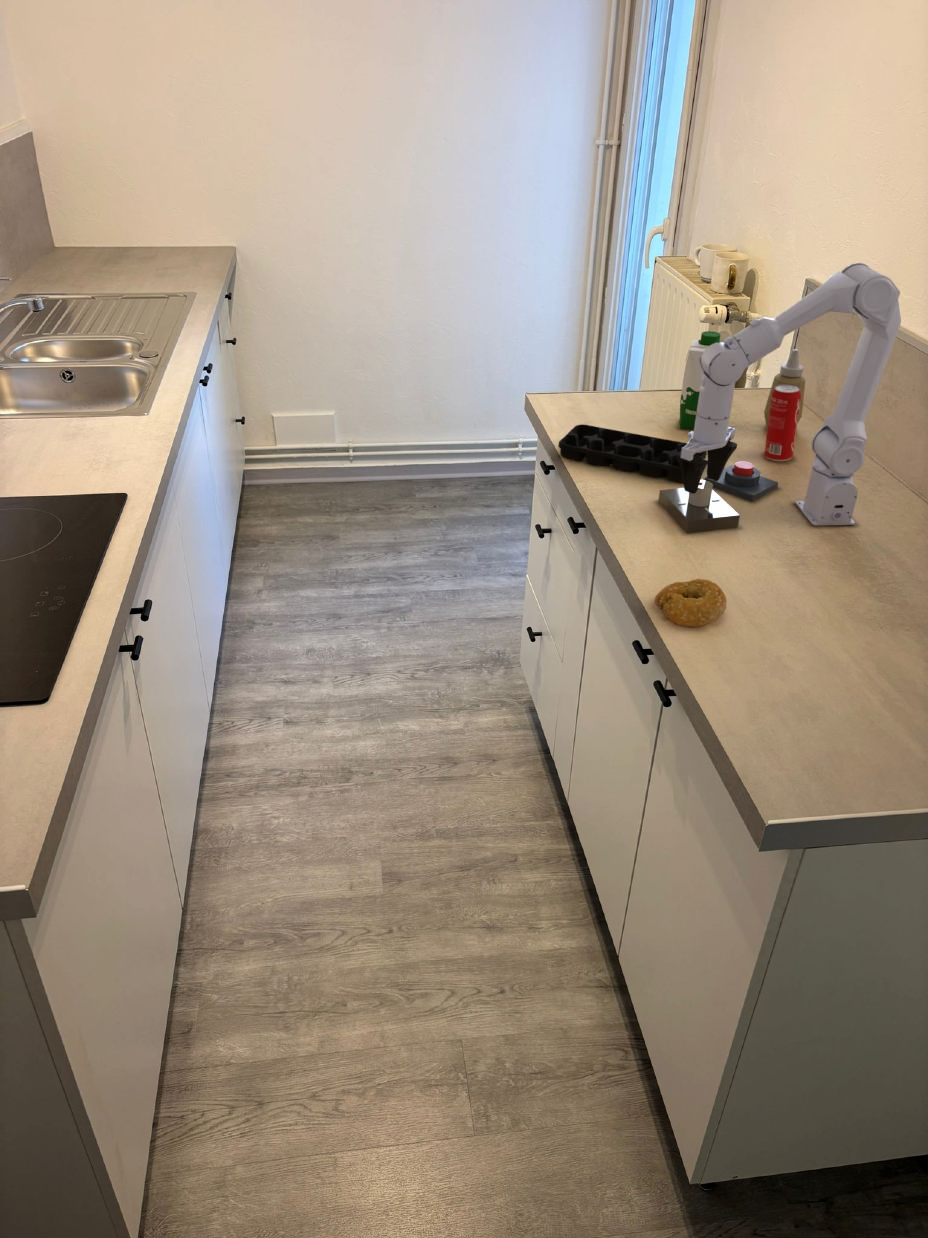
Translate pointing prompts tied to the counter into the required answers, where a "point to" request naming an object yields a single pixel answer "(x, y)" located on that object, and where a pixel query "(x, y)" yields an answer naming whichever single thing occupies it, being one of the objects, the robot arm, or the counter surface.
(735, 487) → the switch block
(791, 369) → the squeeze bottle
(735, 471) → the power button
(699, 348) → the milk carton
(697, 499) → the hob knob
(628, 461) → the egg carton
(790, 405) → the beverage can
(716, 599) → the bagel
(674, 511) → the panel
